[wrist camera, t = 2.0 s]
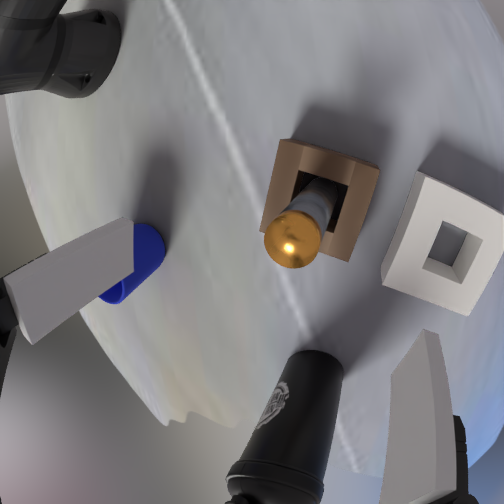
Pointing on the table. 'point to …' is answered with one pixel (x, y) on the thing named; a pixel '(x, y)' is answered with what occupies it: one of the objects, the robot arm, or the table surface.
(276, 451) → the water bottle
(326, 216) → the pin
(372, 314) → the table surface
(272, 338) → the table surface
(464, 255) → the dock block
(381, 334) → the table surface
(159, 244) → the mug
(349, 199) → the mount block
